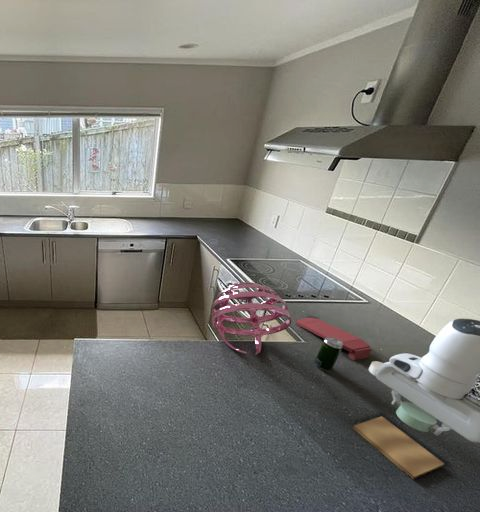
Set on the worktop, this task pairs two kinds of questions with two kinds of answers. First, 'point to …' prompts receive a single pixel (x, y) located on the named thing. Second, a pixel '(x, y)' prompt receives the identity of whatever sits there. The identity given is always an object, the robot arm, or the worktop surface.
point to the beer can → (328, 353)
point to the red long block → (337, 337)
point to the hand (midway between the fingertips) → (413, 418)
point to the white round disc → (375, 367)
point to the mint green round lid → (415, 416)
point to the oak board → (398, 447)
